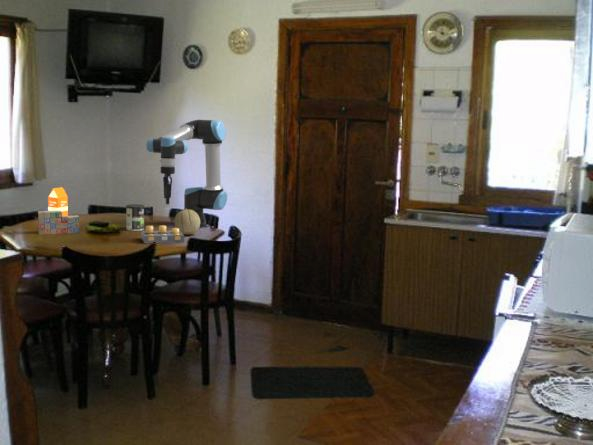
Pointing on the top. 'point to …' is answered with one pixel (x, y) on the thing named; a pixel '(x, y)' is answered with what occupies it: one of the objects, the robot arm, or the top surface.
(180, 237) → the button board
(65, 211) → the orange juice
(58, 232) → the stack of blocks
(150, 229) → the button
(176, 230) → the button
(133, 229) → the coffee can
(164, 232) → the button mid
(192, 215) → the cantaloupe
